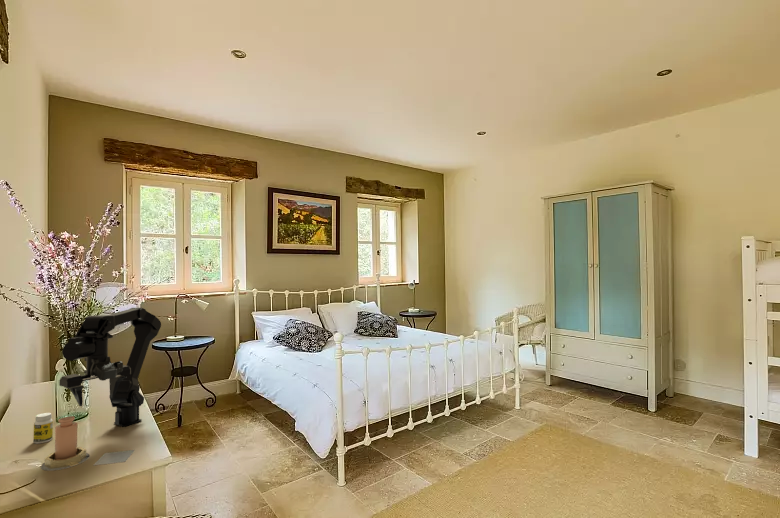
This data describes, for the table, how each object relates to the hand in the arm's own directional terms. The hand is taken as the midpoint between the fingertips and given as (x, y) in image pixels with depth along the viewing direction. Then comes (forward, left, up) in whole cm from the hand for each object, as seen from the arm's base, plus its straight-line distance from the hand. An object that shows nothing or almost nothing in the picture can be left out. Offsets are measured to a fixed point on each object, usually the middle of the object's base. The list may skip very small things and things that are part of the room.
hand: (96, 402), depth 135 cm
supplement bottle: (+9, -14, -12) cm, 21 cm away
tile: (+5, +21, -12) cm, 25 cm away
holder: (+13, +11, -12) cm, 21 cm away
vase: (+13, +11, -11) cm, 20 cm away
